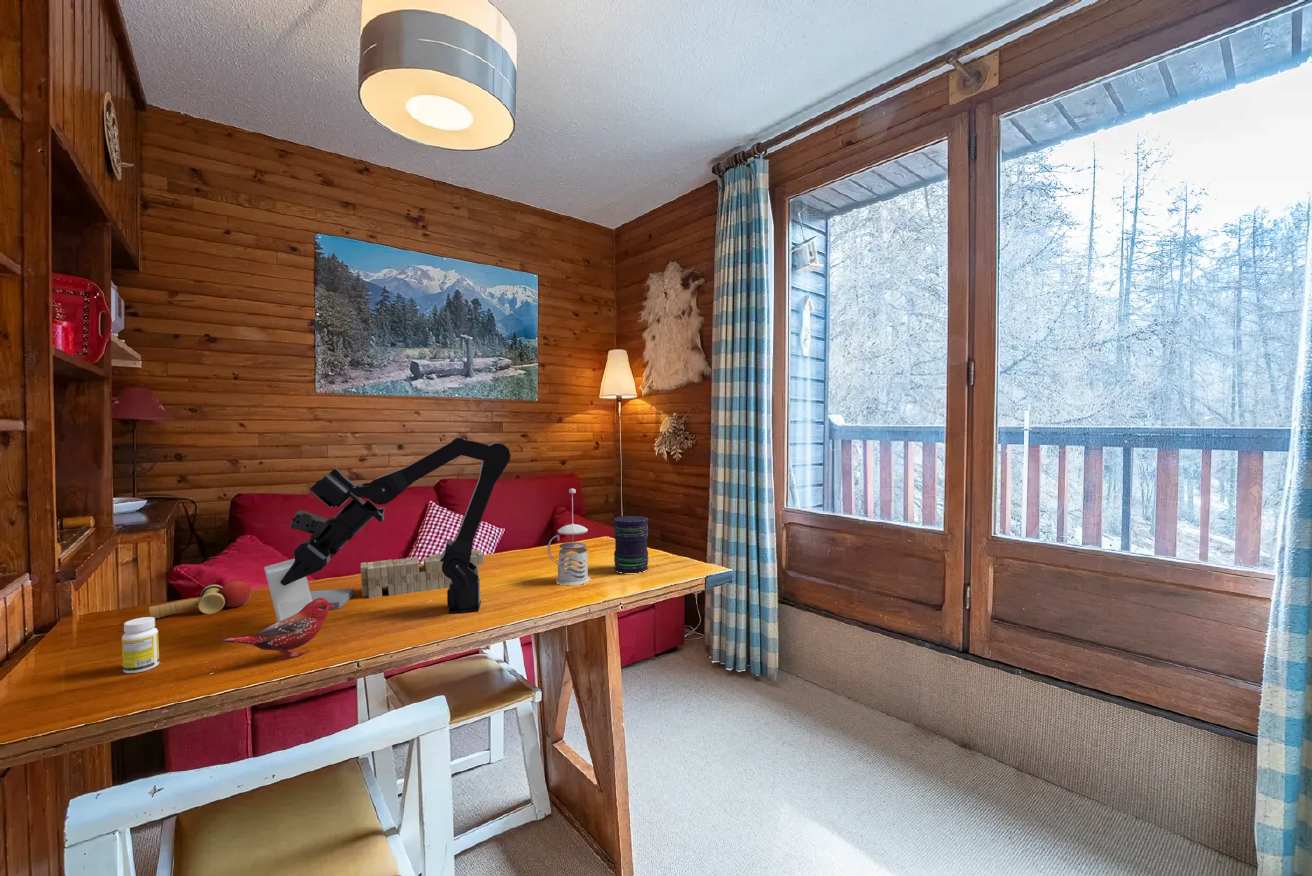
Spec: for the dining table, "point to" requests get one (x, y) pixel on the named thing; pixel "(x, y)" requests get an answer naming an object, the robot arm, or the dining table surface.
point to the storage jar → (631, 544)
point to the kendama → (208, 600)
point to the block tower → (407, 575)
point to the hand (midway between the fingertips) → (288, 578)
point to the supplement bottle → (140, 645)
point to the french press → (571, 555)
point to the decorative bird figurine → (290, 630)
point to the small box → (287, 591)
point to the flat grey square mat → (334, 596)
